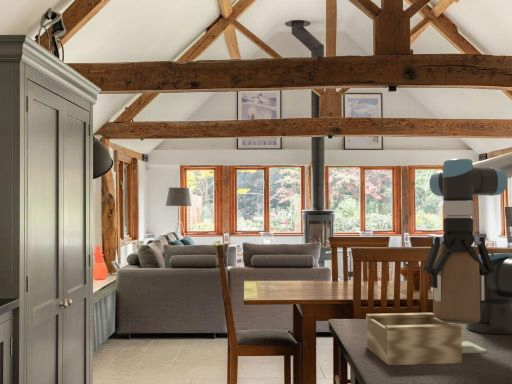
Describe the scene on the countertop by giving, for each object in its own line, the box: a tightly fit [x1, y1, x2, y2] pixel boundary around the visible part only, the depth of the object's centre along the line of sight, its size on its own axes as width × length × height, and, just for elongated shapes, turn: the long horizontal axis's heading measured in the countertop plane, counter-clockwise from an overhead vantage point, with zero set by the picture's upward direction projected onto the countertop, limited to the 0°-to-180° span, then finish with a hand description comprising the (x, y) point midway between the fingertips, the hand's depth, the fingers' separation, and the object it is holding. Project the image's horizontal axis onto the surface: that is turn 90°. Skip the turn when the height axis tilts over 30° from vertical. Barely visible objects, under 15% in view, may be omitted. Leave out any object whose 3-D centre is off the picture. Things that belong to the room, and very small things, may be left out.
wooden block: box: [432, 243, 480, 325], centre depth 158 cm, size 10×10×20 cm
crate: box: [365, 312, 463, 366], centre depth 148 cm, size 18×18×9 cm
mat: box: [462, 340, 488, 354], centre depth 154 cm, size 10×10×1 cm
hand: (459, 300), depth 155 cm, fingers closed on wooden block, 11 cm apart
